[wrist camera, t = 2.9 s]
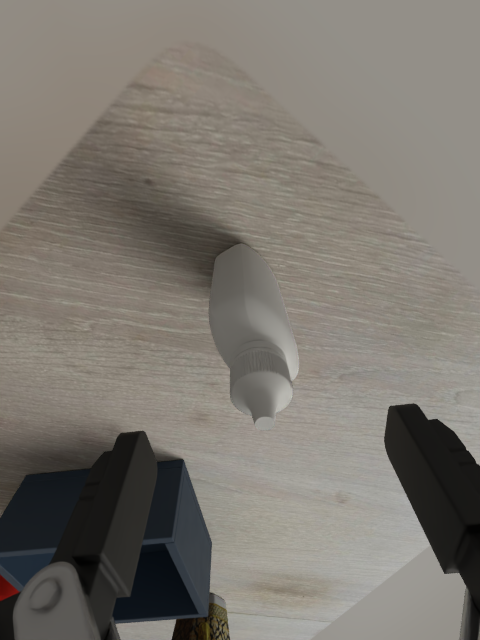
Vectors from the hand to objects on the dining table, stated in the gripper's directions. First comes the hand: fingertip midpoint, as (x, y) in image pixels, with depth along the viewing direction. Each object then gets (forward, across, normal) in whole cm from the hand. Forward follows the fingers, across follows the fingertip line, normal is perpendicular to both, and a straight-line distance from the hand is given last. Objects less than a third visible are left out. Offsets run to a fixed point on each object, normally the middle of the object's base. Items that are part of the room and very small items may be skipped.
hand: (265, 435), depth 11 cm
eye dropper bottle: (+13, 0, 0) cm, 13 cm away
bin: (+13, +16, +25) cm, 32 cm away
